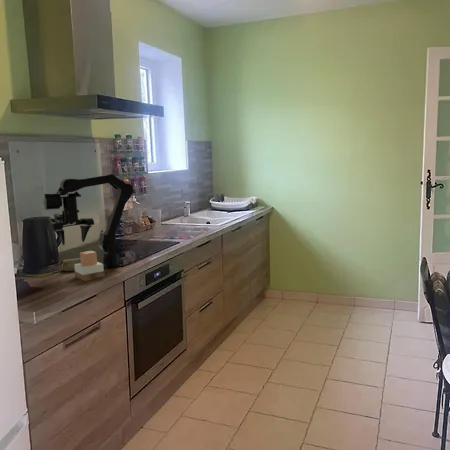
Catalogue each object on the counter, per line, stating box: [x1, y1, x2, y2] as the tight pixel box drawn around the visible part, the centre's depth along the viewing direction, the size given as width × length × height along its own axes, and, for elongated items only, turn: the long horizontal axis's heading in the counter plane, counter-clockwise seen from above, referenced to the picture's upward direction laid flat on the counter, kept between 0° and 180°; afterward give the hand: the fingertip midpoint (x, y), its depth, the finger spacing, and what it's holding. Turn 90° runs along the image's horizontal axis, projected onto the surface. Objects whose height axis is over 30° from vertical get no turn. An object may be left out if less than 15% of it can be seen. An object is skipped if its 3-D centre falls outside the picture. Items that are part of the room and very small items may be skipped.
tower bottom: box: [73, 270, 106, 282], centre depth 195 cm, size 9×9×3 cm
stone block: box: [62, 257, 81, 272], centre depth 209 cm, size 6×12×5 cm, turn 112°
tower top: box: [74, 261, 105, 275], centre depth 195 cm, size 9×9×3 cm
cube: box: [79, 250, 98, 266], centre depth 194 cm, size 5×5×5 cm
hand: (73, 243), depth 202 cm, fingers open, 9 cm apart
